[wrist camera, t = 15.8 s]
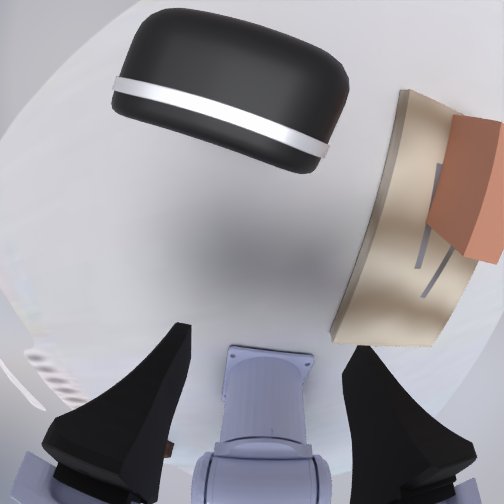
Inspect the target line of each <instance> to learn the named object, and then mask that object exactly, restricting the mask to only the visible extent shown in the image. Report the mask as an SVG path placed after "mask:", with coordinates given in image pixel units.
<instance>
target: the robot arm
mask: <svg viewBox="0 0 504 504" xmlns="http://www.w3.org/2000/svg"><path fill="white" fill-rule="evenodd" d="M232 354H234V355H232ZM190 360H191V325H189V324H184V323H179V322H177V323H175V324H174V325H173V327H172V328H171V329H170V331H169V332H168V333H167V335H166V336H165V337H164V338H163V339H162V341H161V342H160V343H159V344H158V345H157V346H156V347H155V349H154V350H153V351H152V352H151V353H150V354H149V355H148V356H147V357H146V358H145V359H144V360H143V361H142V362H141V363H140V364H139V365H138V366H137V367H136V368H135V369H134V370H133V371H132V372H130V373H129V374H128V375H127V376H126V377H125V378H123V379H122V380H121V381H120V382H118V383H117V384H116V385H114V386H113V387H111V388H110V389H109V390H107V391H106V392H104V393H103V394H101V395H100V396H98V397H97V398H95V399H93V400H91V401H90V402H88V403H86V404H84V405H83V406H81V407H79V408H77V409H75V410H73V411H70V412H68V413H66V414H64V415H61V416H59V417H56V418H55V419H54V421H53V422H52V424H51V425H50V427H49V429H48V431H47V433H46V435H45V437H44V439H43V442H42V447H43V448H44V450H45V451H46V452H47V453H48V454H50V455H51V456H52V457H53V458H54V459H55V460H56V461H57V462H58V465H57V467H55V466H53V465H51V464H50V463H48V462H46V461H45V460H43V459H41V458H39V457H38V456H36V455H34V454H33V453H31V452H29V451H27V452H26V454H25V456H24V459H23V461H22V463H21V466H20V468H19V471H18V473H17V476H16V478H15V480H14V483H13V486H12V488H11V491H10V494H9V495H10V497H11V498H13V499H14V500H16V501H17V502H18V503H20V504H140V503H143V504H153V503H155V502H157V500H158V492H159V485H160V477H161V471H162V466H163V460H164V454H165V449H166V444H167V439H168V434H169V430H170V426H171V422H172V419H173V416H174V413H175V410H176V407H177V404H178V401H179V398H180V395H181V392H182V389H183V386H184V384H185V381H186V378H187V373H188V369H189V364H190ZM313 362H314V357H313V356H312V355H303V354H293V353H283V352H274V351H266V350H258V349H250V348H243V347H236V346H232V347H230V348H229V349H228V356H227V363H226V370H225V378H224V385H223V392H222V399H221V400H222V401H223V402H224V403H225V407H224V415H223V422H222V429H221V437H220V442H216V443H215V449H214V453H213V452H206V453H205V454H204V455H203V456H202V457H200V458H199V459H198V461H197V463H196V466H195V469H194V473H193V479H192V486H191V504H331V497H332V480H331V473H330V469H329V466H328V463H327V462H326V461H325V460H324V459H323V458H322V457H321V456H320V455H312V445H311V444H308V445H306V431H305V416H304V403H303V391H302V386H303V384H304V382H305V380H306V377H307V375H308V373H309V371H310V369H311V367H312V365H313ZM342 385H343V395H344V401H345V406H346V411H347V416H348V421H349V427H350V432H351V439H352V457H353V469H352V471H353V472H352V489H351V498H350V504H481V499H480V495H479V491H478V487H477V483H476V480H475V478H472V479H470V480H468V481H466V482H463V483H461V484H459V485H457V486H455V487H454V485H453V482H455V481H456V476H455V475H456V474H457V473H459V472H460V471H462V470H463V469H465V468H466V467H468V466H469V465H471V464H472V463H473V462H474V461H475V460H476V458H477V455H476V452H475V450H474V446H473V443H472V442H470V441H468V440H466V439H464V438H462V437H460V436H459V435H457V434H455V433H454V432H452V431H450V430H449V429H448V428H446V427H444V426H443V425H442V424H440V423H439V422H438V421H437V420H435V419H434V418H433V417H432V416H430V415H429V414H428V413H427V412H426V411H425V410H424V409H423V408H422V407H421V406H420V405H419V404H418V403H417V402H416V401H415V400H414V399H413V398H412V397H411V396H410V395H409V394H408V393H407V392H406V391H405V389H404V388H403V387H402V386H401V385H400V384H399V382H398V381H397V380H396V379H395V377H394V376H393V375H392V374H391V372H390V371H389V370H388V368H387V367H386V366H385V364H384V363H383V362H382V361H381V359H380V358H379V357H378V355H377V354H376V353H375V352H374V350H373V349H372V348H371V347H370V346H365V345H358V346H357V348H356V350H355V351H354V353H353V355H352V357H351V359H350V361H349V362H348V364H347V366H346V368H345V369H344V371H343V373H342Z"/></svg>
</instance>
